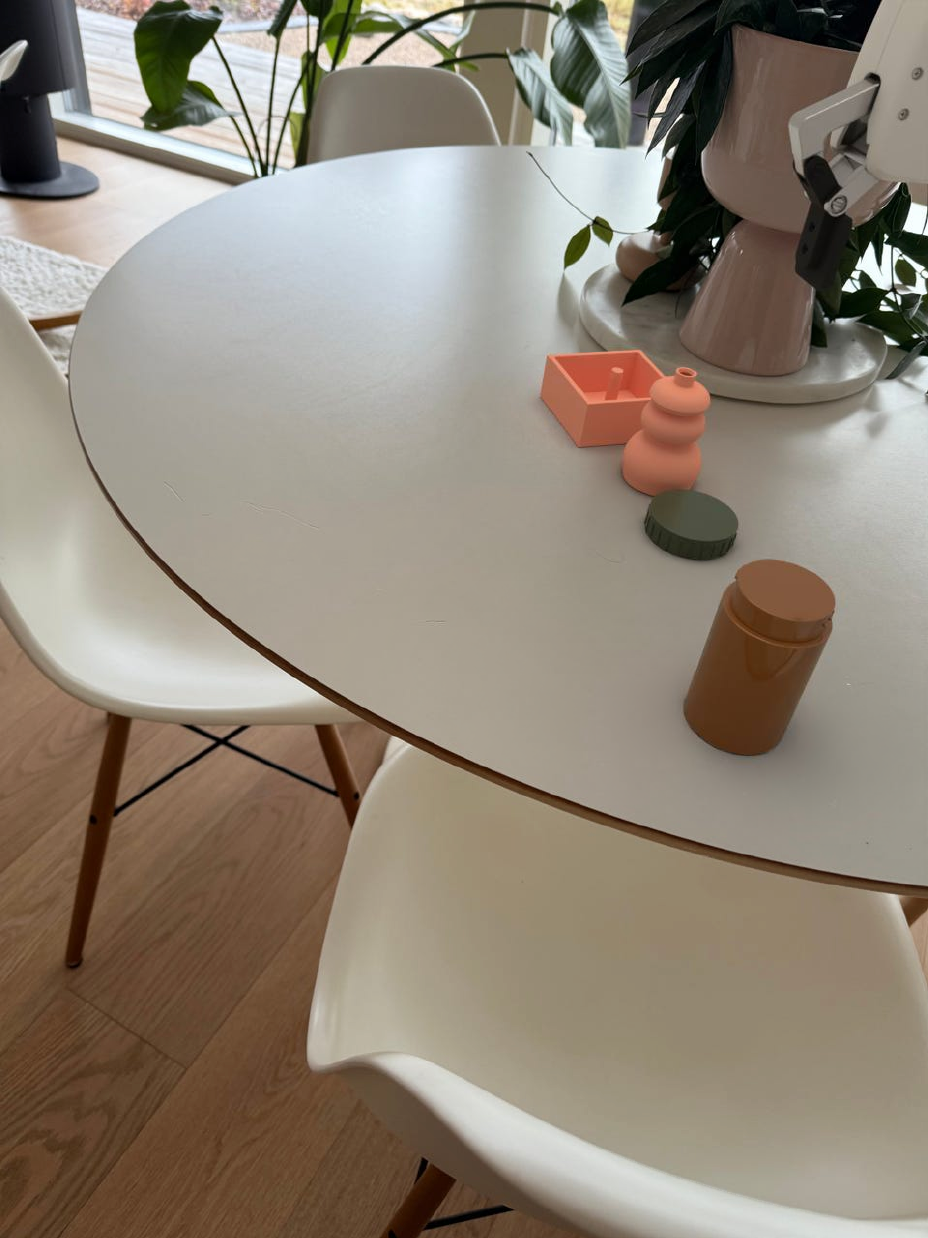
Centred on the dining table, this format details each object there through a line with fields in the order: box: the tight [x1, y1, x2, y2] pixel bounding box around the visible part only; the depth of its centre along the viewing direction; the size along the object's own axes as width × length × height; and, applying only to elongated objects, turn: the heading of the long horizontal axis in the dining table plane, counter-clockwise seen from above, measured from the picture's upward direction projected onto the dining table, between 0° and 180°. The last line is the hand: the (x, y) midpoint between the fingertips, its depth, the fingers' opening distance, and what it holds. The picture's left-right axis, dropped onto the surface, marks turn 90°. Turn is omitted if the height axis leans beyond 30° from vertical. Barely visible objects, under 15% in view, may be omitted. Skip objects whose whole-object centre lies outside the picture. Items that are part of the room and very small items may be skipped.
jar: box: [683, 558, 836, 756], centre depth 61 cm, size 6×6×11 cm
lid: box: [643, 489, 739, 561], centre depth 79 cm, size 7×7×2 cm
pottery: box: [539, 349, 711, 497], centre depth 86 cm, size 18×10×10 cm, turn 19°
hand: (886, 282), depth 58 cm, fingers open, 9 cm apart
